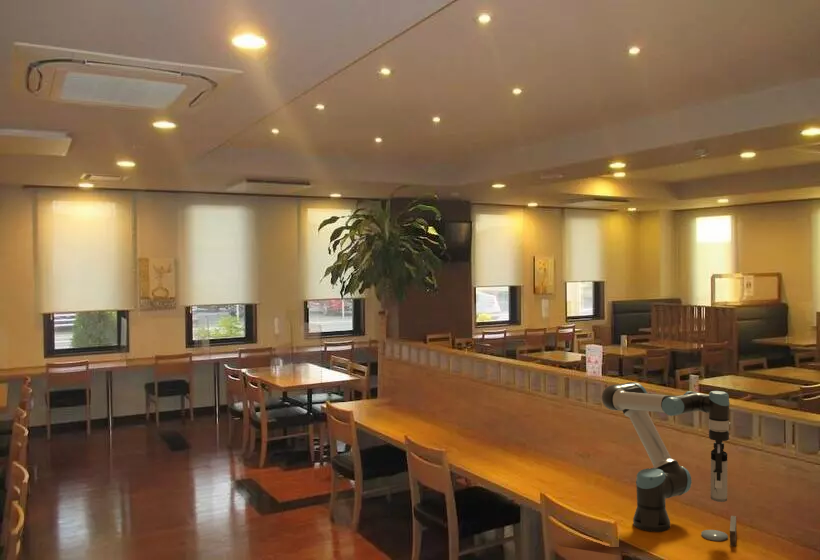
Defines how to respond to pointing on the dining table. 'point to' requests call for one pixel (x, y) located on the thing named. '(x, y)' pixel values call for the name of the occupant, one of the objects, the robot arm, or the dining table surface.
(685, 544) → the dining table surface
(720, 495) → the travel mug
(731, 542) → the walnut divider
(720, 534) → the slate saucer
